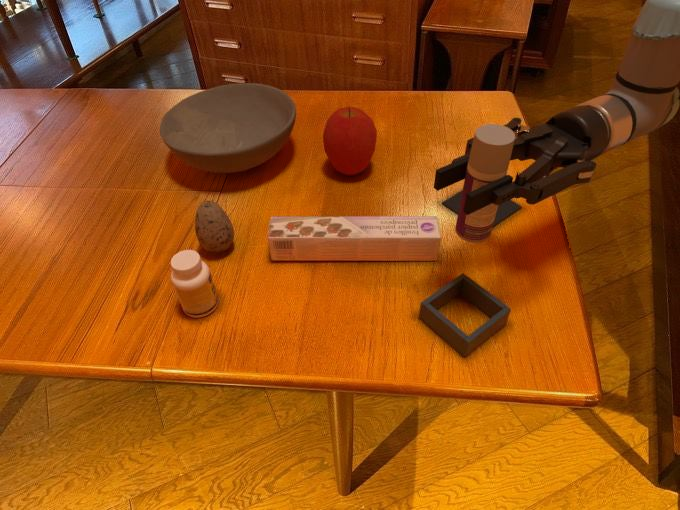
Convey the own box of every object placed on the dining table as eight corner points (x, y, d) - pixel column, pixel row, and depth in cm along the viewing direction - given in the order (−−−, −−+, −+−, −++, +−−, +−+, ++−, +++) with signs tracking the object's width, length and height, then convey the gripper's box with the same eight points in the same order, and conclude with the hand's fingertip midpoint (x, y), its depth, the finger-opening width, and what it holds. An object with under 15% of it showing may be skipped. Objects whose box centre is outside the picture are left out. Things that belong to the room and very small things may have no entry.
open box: (505, 324, 70) (511, 309, 67) (464, 357, 66) (468, 343, 63) (459, 287, 74) (463, 272, 72) (418, 317, 71) (420, 302, 68)
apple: (384, 178, 94) (387, 113, 84) (335, 190, 92) (332, 125, 82) (364, 150, 101) (364, 87, 91) (318, 161, 99) (313, 97, 89)
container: (456, 217, 68) (475, 121, 57) (491, 222, 67) (516, 125, 56) (453, 240, 64) (472, 142, 54) (489, 245, 64) (516, 148, 53)
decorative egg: (242, 239, 83) (231, 193, 76) (228, 263, 79) (216, 217, 72) (210, 233, 84) (197, 188, 77) (195, 257, 80) (179, 212, 73)
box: (434, 238, 82) (438, 213, 78) (438, 261, 78) (442, 235, 74) (273, 240, 83) (269, 215, 79) (270, 263, 79) (265, 238, 75)
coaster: (521, 208, 87) (522, 206, 87) (484, 232, 83) (485, 231, 83) (478, 182, 93) (478, 180, 92) (441, 204, 88) (442, 202, 88)
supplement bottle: (225, 307, 73) (211, 263, 66) (191, 324, 71) (173, 280, 64) (210, 285, 76) (195, 240, 69) (177, 301, 74) (158, 256, 67)
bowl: (263, 208, 89) (255, 163, 82) (145, 179, 96) (128, 135, 89) (320, 135, 106) (317, 92, 98) (216, 114, 113) (206, 73, 106)
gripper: (632, 188, 63) (498, 259, 55) (528, 127, 73) (404, 179, 65) (657, 138, 57) (514, 208, 49) (541, 80, 68) (408, 130, 60)
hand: (451, 192), depth 57 cm, fingers closed on container, 5 cm apart
